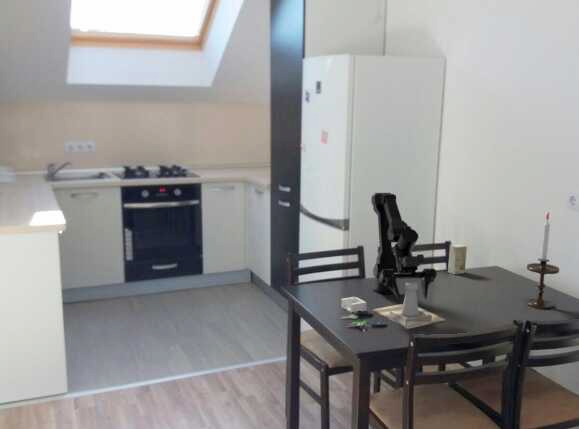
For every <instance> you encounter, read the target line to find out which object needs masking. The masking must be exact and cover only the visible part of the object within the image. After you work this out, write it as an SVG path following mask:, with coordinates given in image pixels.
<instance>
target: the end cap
mask: <svg viewBox="0 0 579 429" xmlns="http://www.w3.org/2000/svg"><path fill="white" fill-rule="evenodd" d="M340 307H341V308H342V309H344V310H345V309H346V310H345V311H347V312H349V313H351V314H353V313H352V312H355V311H361V312H365V311H367V302H366V301H365V300H363V299H362V298H359V297H357V296H351V297H346V298H345V297H343V298H341V301H340ZM355 313H356V312H355Z"/></svg>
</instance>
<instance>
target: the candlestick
mask: <svg viewBox="0 0 579 429" xmlns="http://www.w3.org/2000/svg"><path fill="white" fill-rule="evenodd" d="M545 217H546V218H545V219H546V221H545V222H544V223H543V234H542V242H541V245H542V246H541V256H540V258H538V259H537V261H539V262H540V263H538V262H537V263H528V264H527V265H526V270H528V271H529V272H532V273H536V274H539V275H540V276H539V283H537V288H538V290H537V291H536V292H537V293H538V297H537V298H530V299H529V298H528V299H527V300H526V305H527V306H528V307H530V306H531V308H533V307H534V308H533V309H537V308H539V309H540V310H549V309H548V308H551V309H553V308H552V307H554V304H553V302H551V301H550V300H546V299H544V298H543V294H545V291H544V289H545V288H546V284H545V282H544V281H545V275H557V274H559V273H560V268H559V267H558V266H557V265H554V264H553V265H552V264H548V263H549V262H550V260H549V259H547V258H548V248H549V239H550V238H549V237H550V227H551V226H550V225H551V224H550V223H549V218H550V213H549V211H547V215H546V216H545ZM539 309H538V310H539Z"/></svg>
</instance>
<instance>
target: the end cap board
mask: <svg viewBox="0 0 579 429" xmlns="http://www.w3.org/2000/svg"><path fill="white" fill-rule="evenodd" d="M402 307H403V303H400V304H395V305H389V306H384V307H379V308H374V309H373V310H372V312H374V313H377V315H381V316H382V317H384V318H385V319H388V320H389V321H392V322H393V323H395V324H398V325H399V326H401V327H403V328H405V329H414V328H418V327H423V326H427V325H433V324H437V323H442V322H446V319H445V318H443V317H441V316H438V315H437V314H435V313H432V312H430V311H428V310H426V309H423V308H421V307H419V306H418V311H419V315H418V317H413V318H407V317H405V316H403V315H402V312H401V311H402Z"/></svg>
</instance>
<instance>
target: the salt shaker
mask: <svg viewBox="0 0 579 429" xmlns="http://www.w3.org/2000/svg"><path fill="white" fill-rule="evenodd" d="M404 288H405V290H406V291H405V295H404V299H403V303H402V304H403V307H402V311H401V312H402V315H403V316H405V317H407V318H413V317H418V315H419V311H418V307H419V305H418V303H419V302H418V298H417V297H418V295H417V290H418V289H419V284H418V282H416V281H407V282H405V284H404Z"/></svg>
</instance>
